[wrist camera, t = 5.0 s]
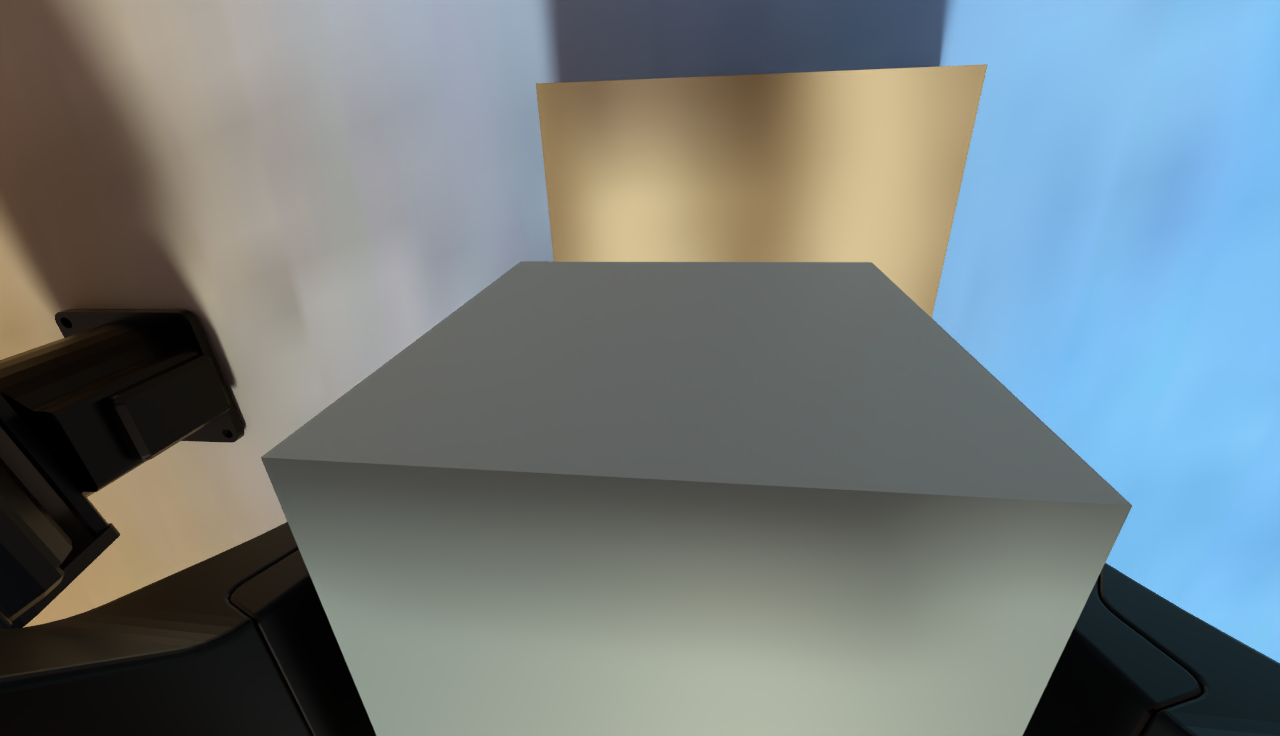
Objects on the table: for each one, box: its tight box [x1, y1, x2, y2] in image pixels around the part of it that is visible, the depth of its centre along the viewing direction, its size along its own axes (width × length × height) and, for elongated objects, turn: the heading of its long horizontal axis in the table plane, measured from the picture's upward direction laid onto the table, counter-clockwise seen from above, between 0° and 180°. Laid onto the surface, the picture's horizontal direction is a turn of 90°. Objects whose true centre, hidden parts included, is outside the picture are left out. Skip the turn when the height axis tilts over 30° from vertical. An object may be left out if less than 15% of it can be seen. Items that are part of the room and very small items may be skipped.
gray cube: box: [261, 262, 1132, 736], centre depth 8 cm, size 6×6×6 cm
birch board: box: [536, 65, 987, 318], centre depth 18 cm, size 12×12×3 cm
